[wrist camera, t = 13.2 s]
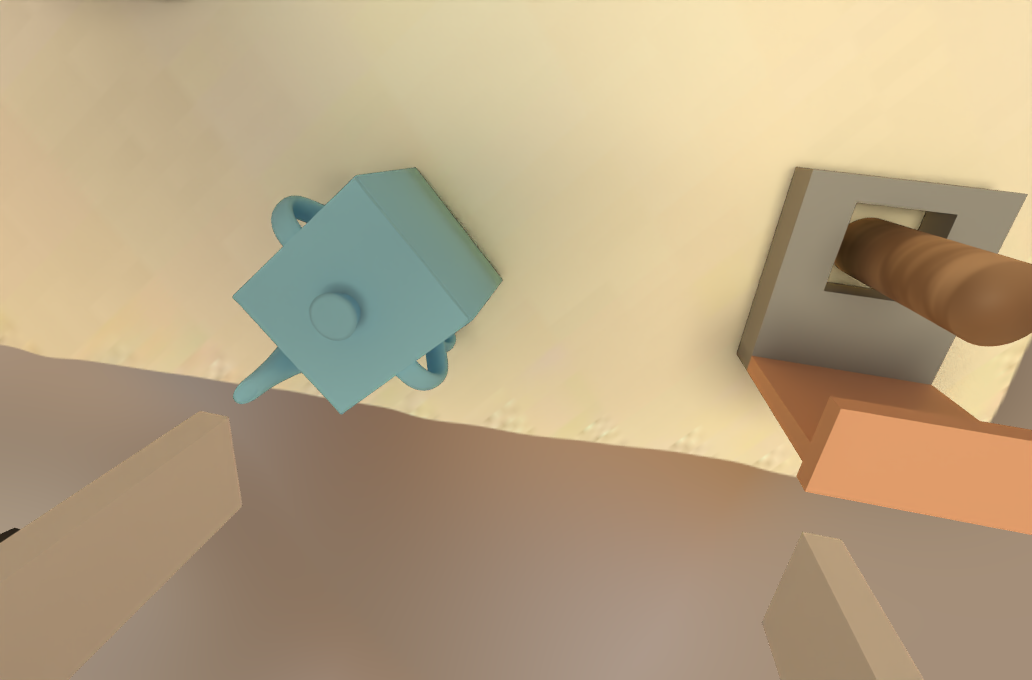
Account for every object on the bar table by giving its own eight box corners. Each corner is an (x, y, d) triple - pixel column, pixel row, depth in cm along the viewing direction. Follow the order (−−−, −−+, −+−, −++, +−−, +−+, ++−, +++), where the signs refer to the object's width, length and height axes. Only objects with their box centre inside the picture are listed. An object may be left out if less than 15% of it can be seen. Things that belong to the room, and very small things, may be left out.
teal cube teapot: (401, 137, 36) (302, 135, 25) (526, 300, 39) (491, 367, 28) (261, 273, 43) (129, 323, 31) (378, 403, 46) (299, 494, 34)
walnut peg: (844, 213, 33) (975, 255, 21) (906, 222, 33) (1076, 269, 21) (823, 270, 35) (933, 338, 23) (882, 279, 34) (1026, 353, 22)
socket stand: (791, 166, 33) (937, 185, 18) (996, 190, 31) (1332, 231, 17) (730, 360, 38) (805, 491, 24) (900, 388, 37) (1089, 545, 22)
